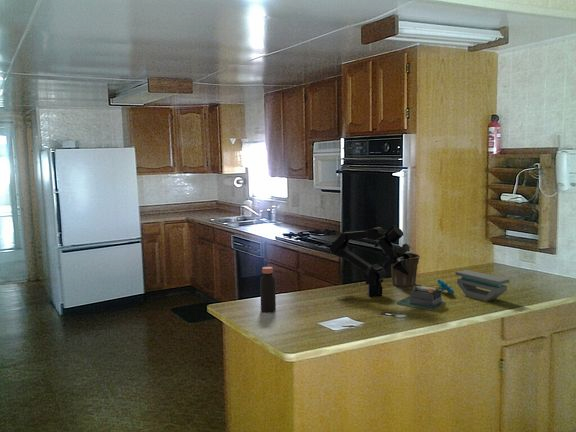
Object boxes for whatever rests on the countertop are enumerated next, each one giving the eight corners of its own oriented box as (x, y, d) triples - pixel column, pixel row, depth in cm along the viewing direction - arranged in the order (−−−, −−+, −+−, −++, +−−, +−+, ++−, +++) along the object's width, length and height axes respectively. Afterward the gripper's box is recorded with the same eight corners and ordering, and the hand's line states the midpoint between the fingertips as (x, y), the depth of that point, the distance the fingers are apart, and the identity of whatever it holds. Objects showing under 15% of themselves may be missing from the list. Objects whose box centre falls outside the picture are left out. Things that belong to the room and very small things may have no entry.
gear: (458, 292, 263) (444, 279, 262) (450, 302, 263) (436, 288, 262) (448, 290, 274) (434, 277, 273) (441, 299, 274) (427, 285, 273)
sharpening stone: (508, 301, 253) (509, 279, 251) (498, 304, 248) (498, 281, 247) (465, 290, 274) (466, 269, 272) (455, 293, 269) (455, 271, 268)
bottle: (258, 309, 246) (257, 266, 244) (272, 308, 248) (272, 265, 246) (263, 313, 240) (262, 269, 237) (277, 312, 242) (277, 268, 240)
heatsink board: (396, 303, 252) (396, 285, 251) (410, 297, 263) (410, 280, 262) (432, 310, 241) (432, 291, 239) (445, 303, 251) (445, 285, 250)
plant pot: (425, 283, 289) (425, 254, 287) (410, 289, 277) (410, 259, 275) (398, 279, 300) (398, 251, 298) (383, 285, 288) (383, 255, 286)
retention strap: (414, 289, 251) (414, 286, 251) (417, 288, 254) (417, 285, 253) (433, 292, 245) (433, 289, 245) (436, 291, 247) (436, 288, 247)
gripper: (389, 241, 248) (410, 268, 243) (408, 236, 262) (429, 261, 257) (374, 255, 254) (394, 282, 249) (394, 249, 268) (413, 274, 263)
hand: (408, 274), depth 254 cm, fingers closed
